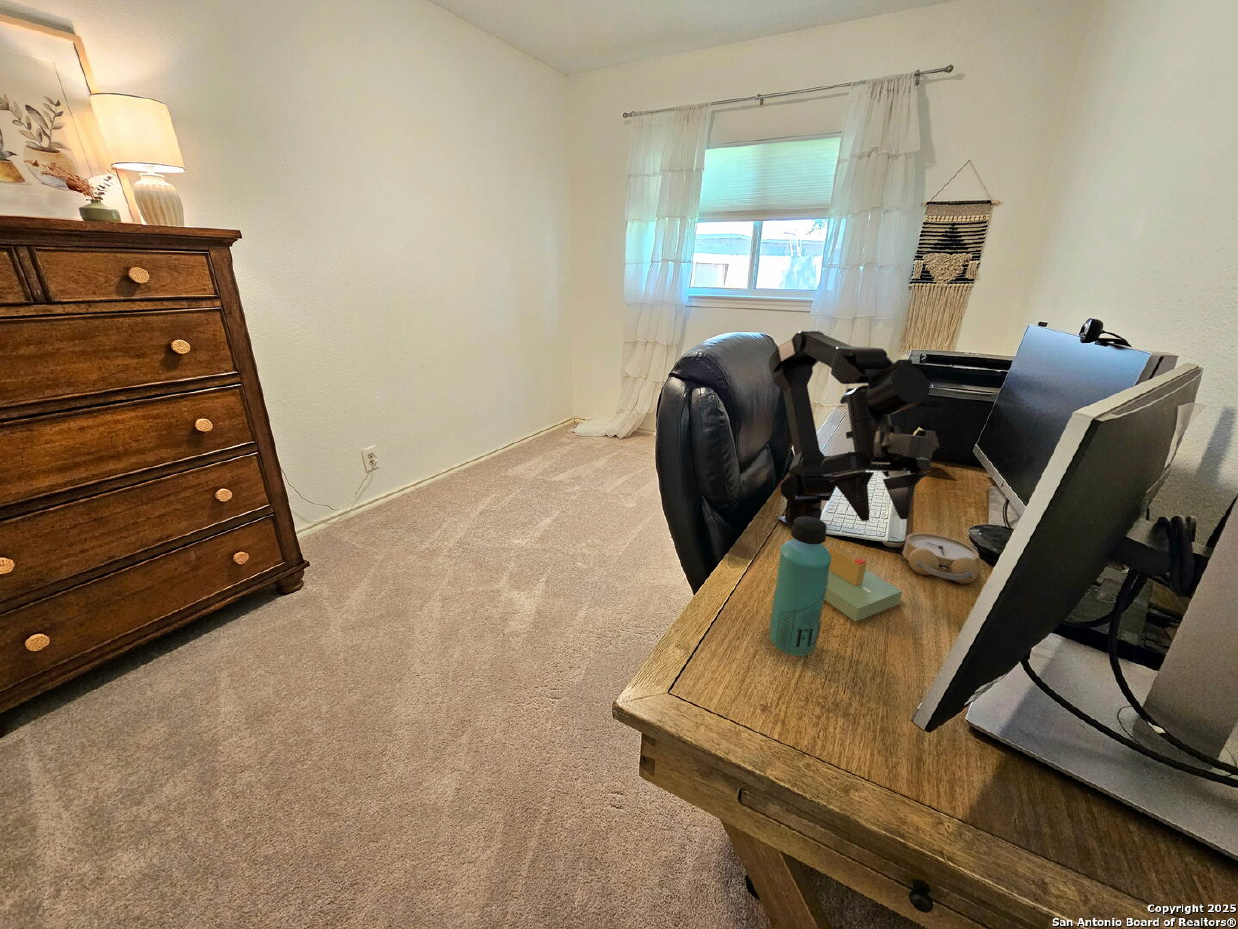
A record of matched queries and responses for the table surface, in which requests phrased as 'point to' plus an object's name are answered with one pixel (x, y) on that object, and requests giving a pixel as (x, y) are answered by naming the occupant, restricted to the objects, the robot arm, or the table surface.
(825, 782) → the table surface
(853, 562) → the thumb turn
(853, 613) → the plate
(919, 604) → the table surface
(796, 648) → the beverage bottle
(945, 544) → the alarm clock
